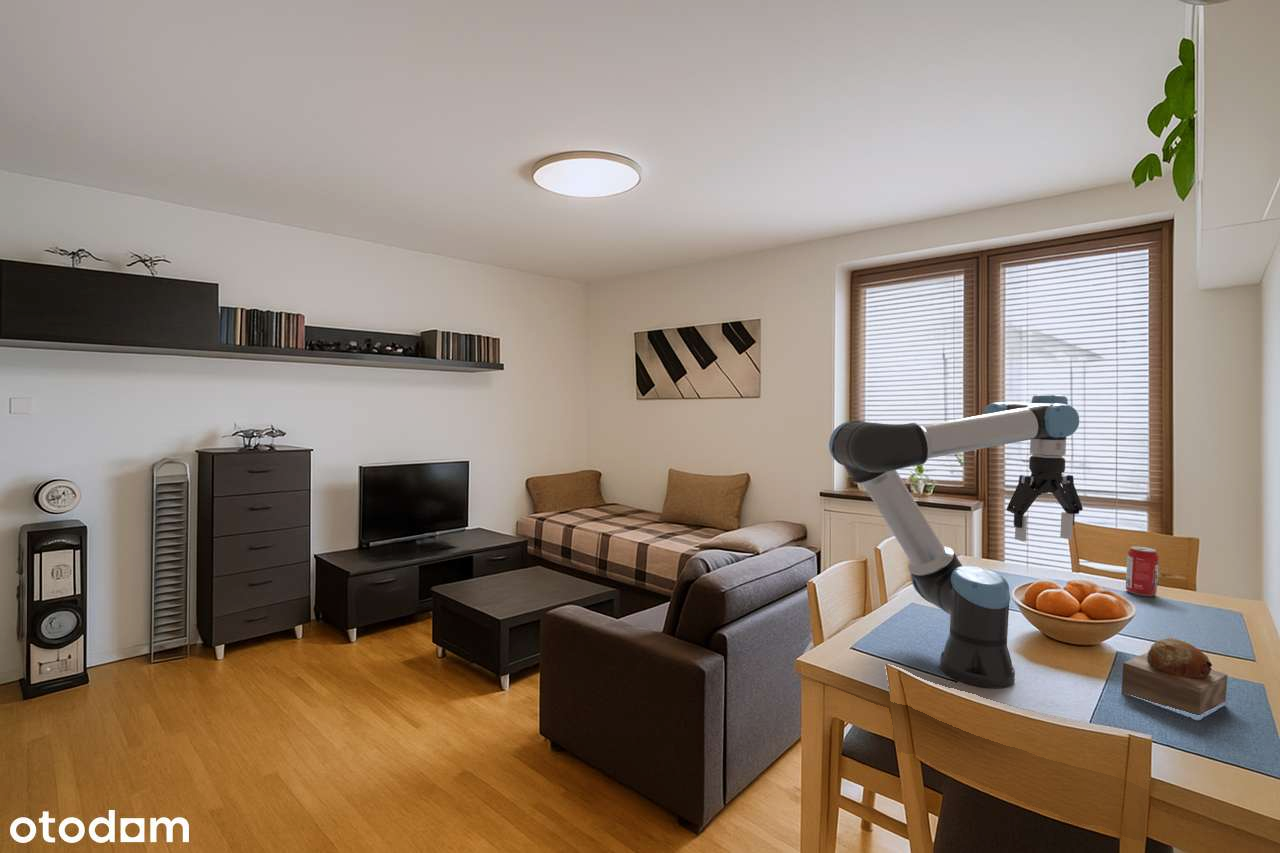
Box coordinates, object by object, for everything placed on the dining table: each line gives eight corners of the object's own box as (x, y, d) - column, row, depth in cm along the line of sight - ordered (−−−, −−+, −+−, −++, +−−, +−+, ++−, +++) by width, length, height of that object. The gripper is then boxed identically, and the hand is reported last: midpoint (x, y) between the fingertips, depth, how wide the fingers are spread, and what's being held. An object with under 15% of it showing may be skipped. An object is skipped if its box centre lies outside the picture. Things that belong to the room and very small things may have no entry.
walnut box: (1198, 722, 120) (1200, 688, 120) (1121, 693, 131) (1123, 662, 131) (1225, 707, 126) (1227, 674, 126) (1149, 680, 138) (1151, 650, 137)
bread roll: (1156, 672, 134) (1138, 636, 136) (1215, 665, 128) (1195, 628, 130) (1156, 688, 127) (1137, 650, 129) (1219, 682, 121) (1198, 642, 122)
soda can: (1119, 590, 201) (1122, 546, 200) (1136, 588, 203) (1138, 544, 202) (1145, 598, 193) (1148, 552, 192) (1162, 596, 196) (1165, 550, 195)
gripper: (1016, 458, 146) (1012, 544, 147) (1102, 457, 151) (1098, 541, 152) (992, 455, 153) (989, 537, 155) (1075, 454, 158) (1071, 534, 159)
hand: (1043, 539), depth 153 cm, fingers open, 13 cm apart
